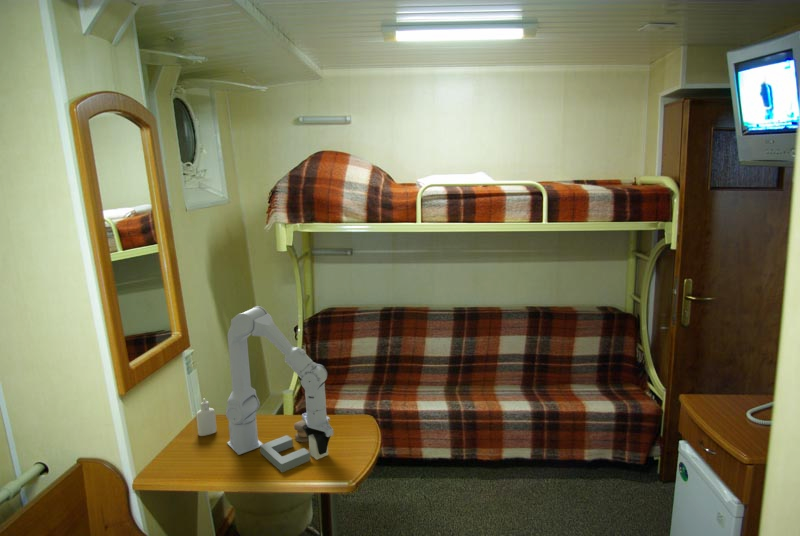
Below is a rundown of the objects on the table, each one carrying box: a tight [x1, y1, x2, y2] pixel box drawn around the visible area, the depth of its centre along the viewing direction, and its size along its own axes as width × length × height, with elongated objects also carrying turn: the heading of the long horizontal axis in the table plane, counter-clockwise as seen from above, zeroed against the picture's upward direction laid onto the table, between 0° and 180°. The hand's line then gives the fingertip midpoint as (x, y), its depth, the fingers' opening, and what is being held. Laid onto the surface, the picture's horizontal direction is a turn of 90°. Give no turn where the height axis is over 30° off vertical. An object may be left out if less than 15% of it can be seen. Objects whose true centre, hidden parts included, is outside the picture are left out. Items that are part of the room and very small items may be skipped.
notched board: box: [259, 434, 311, 473], centre depth 144 cm, size 14×9×2 cm, turn 40°
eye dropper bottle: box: [195, 397, 217, 437], centre depth 159 cm, size 4×6×12 cm
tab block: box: [308, 434, 329, 460], centre depth 144 cm, size 4×4×6 cm
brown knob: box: [293, 419, 309, 443], centre depth 154 cm, size 6×6×4 cm
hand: (318, 450), depth 144 cm, fingers closed on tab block, 4 cm apart
